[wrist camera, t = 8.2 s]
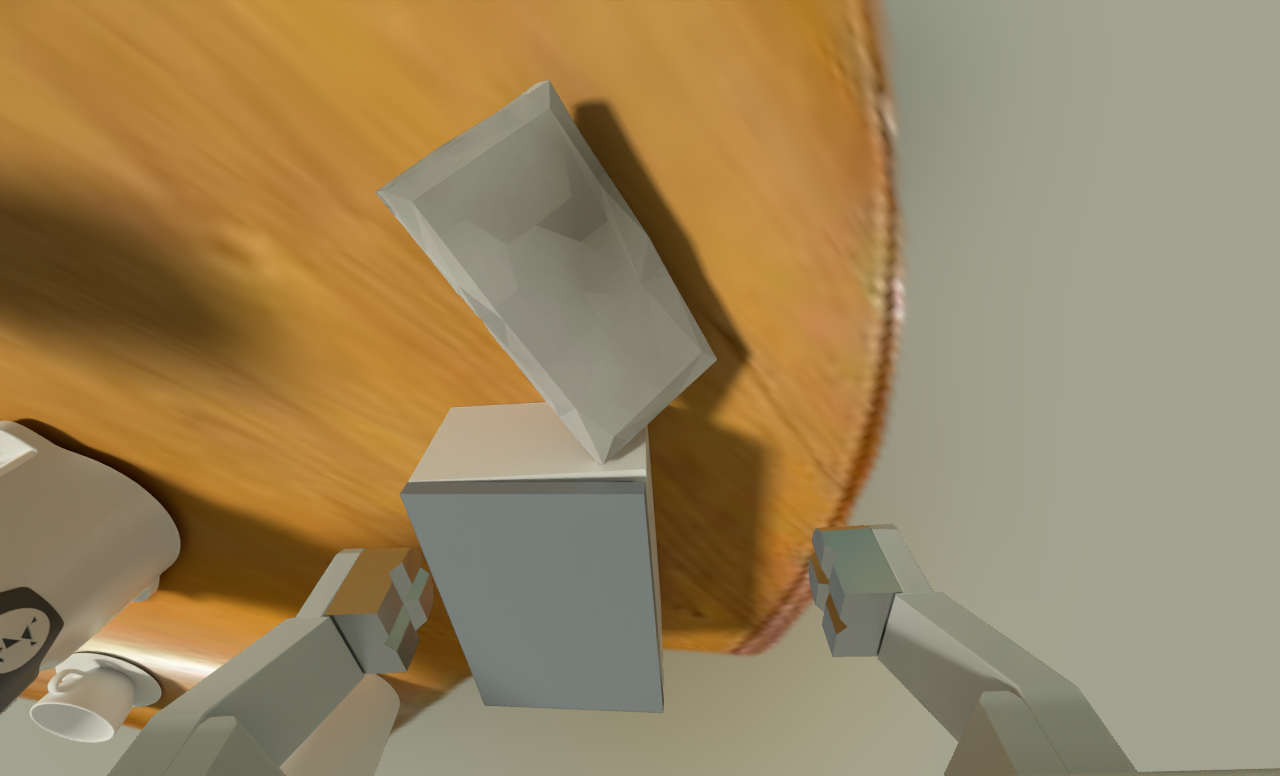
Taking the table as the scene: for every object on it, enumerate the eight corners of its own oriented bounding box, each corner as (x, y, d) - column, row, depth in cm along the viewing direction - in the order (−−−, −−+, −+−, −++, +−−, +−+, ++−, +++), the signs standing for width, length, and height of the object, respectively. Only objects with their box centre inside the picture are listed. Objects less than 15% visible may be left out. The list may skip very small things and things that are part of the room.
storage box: (511, 604, 49) (489, 691, 42) (451, 407, 38) (408, 481, 31) (660, 598, 48) (663, 685, 42) (645, 396, 37) (645, 469, 30)
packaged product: (526, 99, 29) (372, 201, 27) (553, 69, 25) (373, 187, 22) (683, 350, 37) (575, 446, 34) (724, 361, 32) (604, 471, 30)
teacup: (182, 700, 58) (148, 747, 54) (97, 704, 59) (57, 750, 55) (131, 646, 53) (89, 693, 49) (38, 650, 53) (-12, 697, 49)
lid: (489, 692, 42) (484, 705, 41) (407, 482, 31) (399, 494, 30) (663, 699, 41) (663, 712, 40) (645, 481, 29) (644, 494, 29)
